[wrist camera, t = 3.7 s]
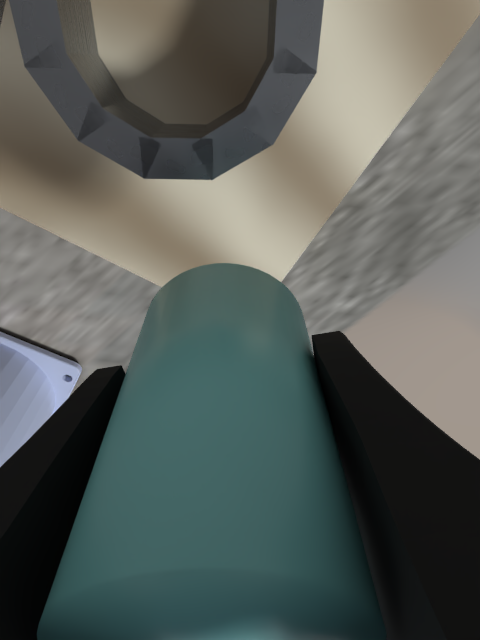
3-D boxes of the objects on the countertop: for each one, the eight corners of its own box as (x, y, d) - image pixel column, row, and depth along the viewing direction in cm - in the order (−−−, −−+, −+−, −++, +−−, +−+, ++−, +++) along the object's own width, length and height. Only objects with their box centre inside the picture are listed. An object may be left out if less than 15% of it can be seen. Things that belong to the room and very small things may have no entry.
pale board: (246, 317, 20) (246, 328, 19) (-22, 183, 16) (-36, 189, 16) (507, -42, 13) (526, -50, 12) (125, -443, 9) (114, -496, 8)
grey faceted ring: (227, 199, 16) (225, 225, 13) (22, 77, 14) (-26, 82, 11) (358, -28, 12) (390, -50, 10) (107, -250, 10) (63, -357, 7)
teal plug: (250, 412, 13) (263, 716, 7) (120, 356, 11) (-2, 673, 6) (337, 312, 11) (463, 625, 5) (191, 231, 9) (116, 524, 3)
